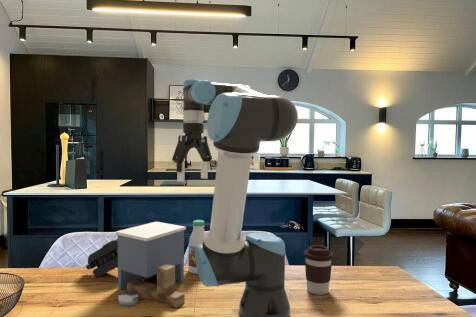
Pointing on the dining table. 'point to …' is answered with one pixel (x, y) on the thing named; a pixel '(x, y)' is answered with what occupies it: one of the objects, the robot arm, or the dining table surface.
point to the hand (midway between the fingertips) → (193, 179)
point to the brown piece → (160, 287)
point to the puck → (128, 298)
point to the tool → (104, 258)
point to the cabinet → (149, 251)
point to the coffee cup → (318, 269)
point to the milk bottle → (195, 244)
